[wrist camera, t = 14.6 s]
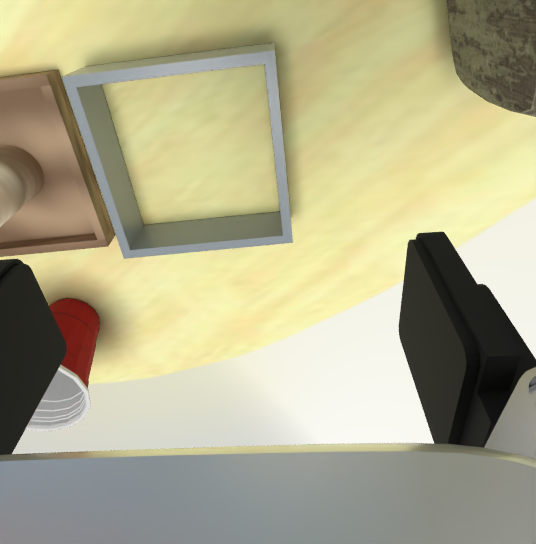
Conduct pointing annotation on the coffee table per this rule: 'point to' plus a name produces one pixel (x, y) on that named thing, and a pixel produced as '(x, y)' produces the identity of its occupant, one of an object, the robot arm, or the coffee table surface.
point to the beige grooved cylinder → (17, 180)
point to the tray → (50, 170)
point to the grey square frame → (113, 170)
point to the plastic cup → (69, 368)
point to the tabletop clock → (496, 50)
